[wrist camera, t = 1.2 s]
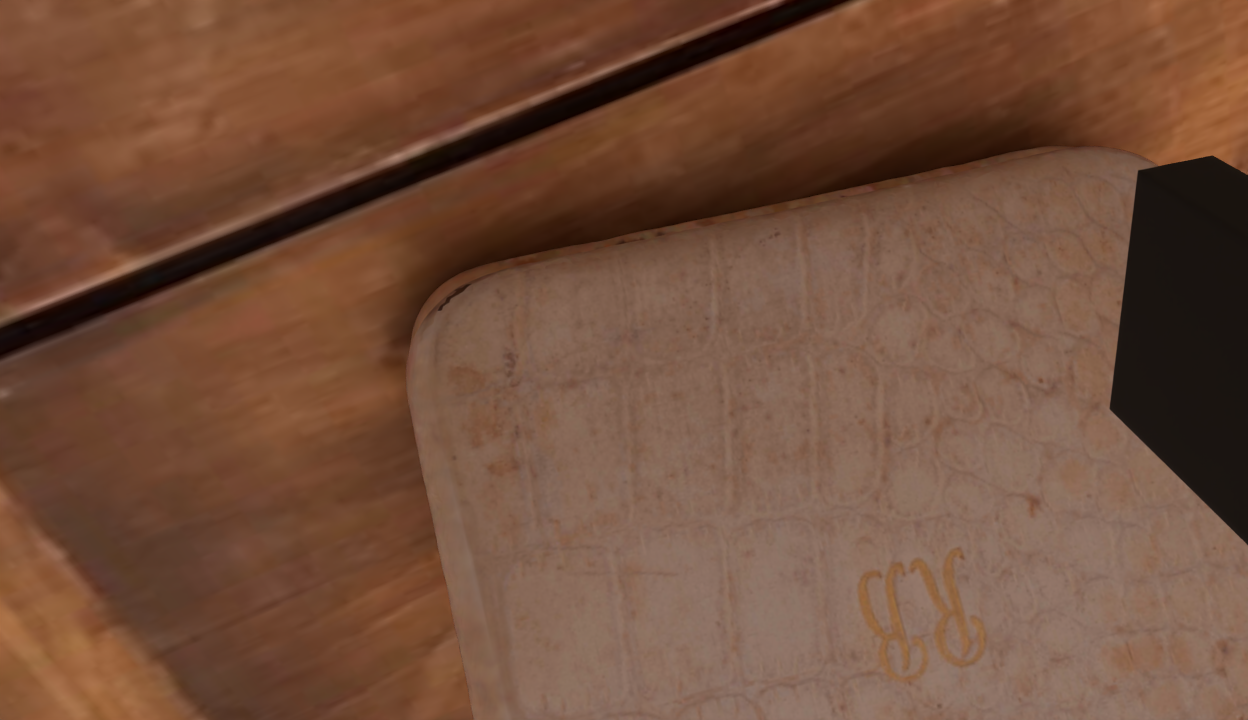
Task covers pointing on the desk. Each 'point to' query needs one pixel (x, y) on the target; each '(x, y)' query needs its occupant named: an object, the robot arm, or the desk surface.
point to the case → (823, 467)
